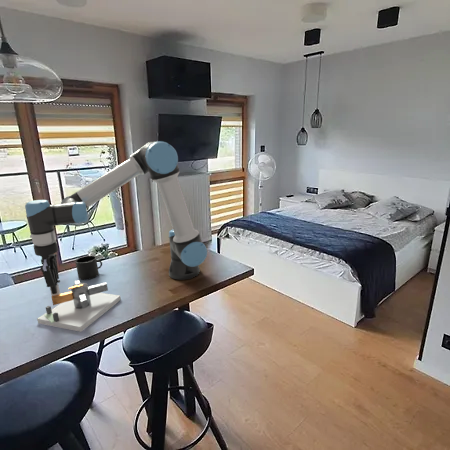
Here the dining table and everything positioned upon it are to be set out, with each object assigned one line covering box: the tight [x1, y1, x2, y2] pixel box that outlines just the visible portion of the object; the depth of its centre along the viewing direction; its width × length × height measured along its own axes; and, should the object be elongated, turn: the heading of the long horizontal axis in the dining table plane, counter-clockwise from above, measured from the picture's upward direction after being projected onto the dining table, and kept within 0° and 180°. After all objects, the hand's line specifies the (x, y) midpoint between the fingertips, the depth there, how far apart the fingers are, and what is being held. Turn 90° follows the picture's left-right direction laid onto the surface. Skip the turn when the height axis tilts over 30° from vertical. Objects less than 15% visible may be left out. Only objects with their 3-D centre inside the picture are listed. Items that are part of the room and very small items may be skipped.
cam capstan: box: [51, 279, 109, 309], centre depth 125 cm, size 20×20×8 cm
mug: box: [75, 255, 103, 281], centre depth 157 cm, size 9×12×9 cm
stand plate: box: [36, 292, 122, 333], centre depth 124 cm, size 20×24×5 cm
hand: (56, 299), depth 122 cm, fingers closed
